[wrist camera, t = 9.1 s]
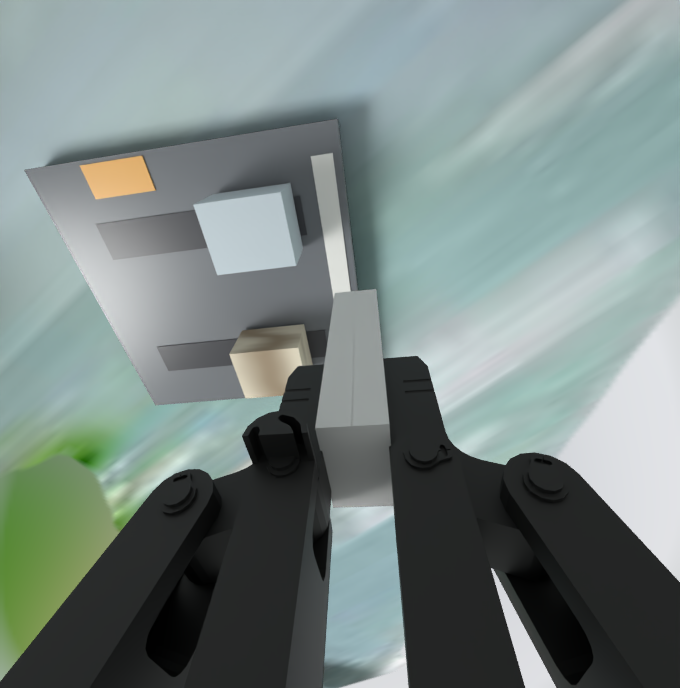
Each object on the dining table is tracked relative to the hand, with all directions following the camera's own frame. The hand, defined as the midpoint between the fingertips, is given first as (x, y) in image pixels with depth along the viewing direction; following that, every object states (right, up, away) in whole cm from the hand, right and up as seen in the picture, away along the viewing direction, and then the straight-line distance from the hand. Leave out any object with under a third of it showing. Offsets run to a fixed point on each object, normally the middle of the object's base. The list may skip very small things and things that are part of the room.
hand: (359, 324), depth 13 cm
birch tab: (-7, -1, +21) cm, 22 cm away
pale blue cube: (-7, +9, +15) cm, 18 cm away
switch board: (-11, +5, +20) cm, 24 cm away
